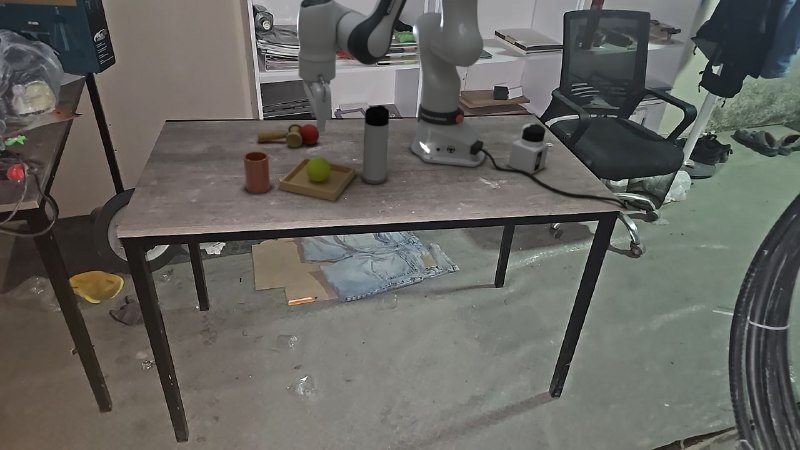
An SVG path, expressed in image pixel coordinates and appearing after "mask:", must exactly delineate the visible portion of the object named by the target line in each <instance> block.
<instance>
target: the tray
mask: <svg viewBox="0 0 800 450" xmlns="http://www.w3.org/2000/svg"><path fill="white" fill-rule="evenodd" d="M312 159H313V158H310V157H303V158H302V159H301V160H300V161H299V162H298V163H297V164H296V165H295V166H294V167H293V168H292V169H291V170H290V171H288V173H286V175H284V176H283V177H282V178H281V179H280V180H279V190H281V191H285V192H291V193H295V194H300V195H304V196H309V197H314V198H318V199H321V200H322V199H323V200H328V201H332V202H335V201H336V200H337V198H338V197H339V196H340V195H341V193H343V191H344V190H345V189H346V188H347V186H348V185H349V184H350V182H351V181H352V180H353V179H354V177H355V176H356V167H354V166H348V165H344V164H338V163H334V162H329V161H328V163H329V164H330V167H331V172H330V175H329V177H328V178H327V179H326V180H324V181H321V182H316V181H313V180H312V179H310V178H309V176H308V175H307V172H306V167H307V164H308V163H309V161H310V160H312Z"/></svg>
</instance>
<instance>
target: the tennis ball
mask: <svg viewBox="0 0 800 450" xmlns="http://www.w3.org/2000/svg"><path fill="white" fill-rule="evenodd" d="M311 159H312V160H310V161H309V163H308V164H307V167H306V172H307V175H308V176H309V178H310V179H312V180H313V181H316V182H321V181H324V180H326V179H327V178H328V177H329V175H330V172H331V167H330V164H329V163H330V162H329V161H328V160H327V159H325V158H323V157H317V156H316V157H314V158H311ZM328 162H329V163H328Z"/></svg>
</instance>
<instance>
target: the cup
mask: <svg viewBox="0 0 800 450" xmlns="http://www.w3.org/2000/svg"><path fill="white" fill-rule="evenodd" d="M243 166H244V167H243V168H244V177H245V187H246V190H247V192H249V193H251V194H263V193H266V192H269V190H270V189H271V179H270V178H271V177H270V165H269V155H268V154H267V152H264V151H258V150H257V151H249V152H247V153H245V154H244V155H243Z"/></svg>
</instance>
